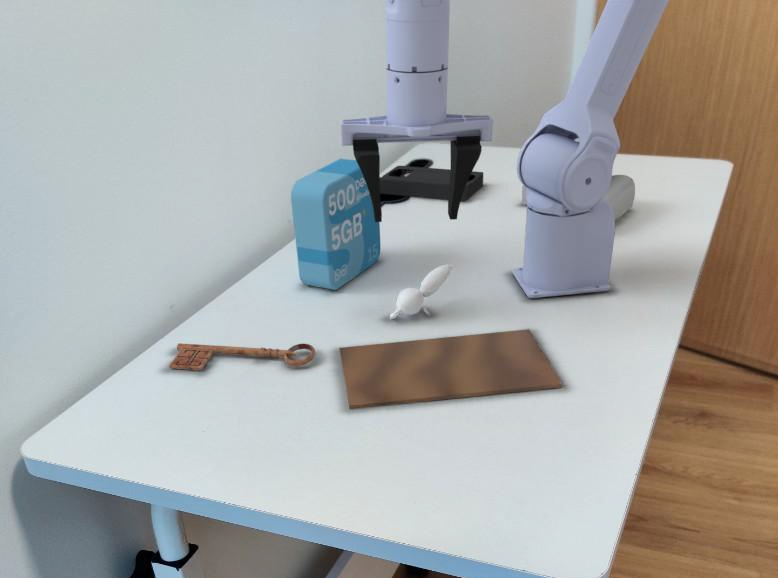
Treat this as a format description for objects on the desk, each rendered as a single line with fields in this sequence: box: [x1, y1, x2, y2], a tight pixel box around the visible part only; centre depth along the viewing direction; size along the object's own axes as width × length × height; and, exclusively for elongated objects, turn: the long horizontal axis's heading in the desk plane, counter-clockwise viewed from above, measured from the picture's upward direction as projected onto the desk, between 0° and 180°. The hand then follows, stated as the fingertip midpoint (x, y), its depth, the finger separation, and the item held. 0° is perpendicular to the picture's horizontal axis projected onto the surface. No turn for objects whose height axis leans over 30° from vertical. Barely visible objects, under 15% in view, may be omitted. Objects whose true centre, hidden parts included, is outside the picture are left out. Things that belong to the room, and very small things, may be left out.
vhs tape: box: [380, 165, 484, 203], centre depth 126 cm, size 14×8×2 cm, turn 65°
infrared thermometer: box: [521, 174, 636, 221], centre depth 114 cm, size 5×12×15 cm
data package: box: [290, 158, 382, 291], centre depth 99 cm, size 12×4×12 cm, turn 150°
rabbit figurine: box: [389, 263, 453, 320], centre depth 91 cm, size 6×4×8 cm
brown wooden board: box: [338, 328, 563, 410], centre depth 82 cm, size 20×12×1 cm, turn 96°
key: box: [168, 342, 316, 371], centre depth 86 cm, size 6×1×15 cm
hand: (415, 217), depth 86 cm, fingers open, 7 cm apart
